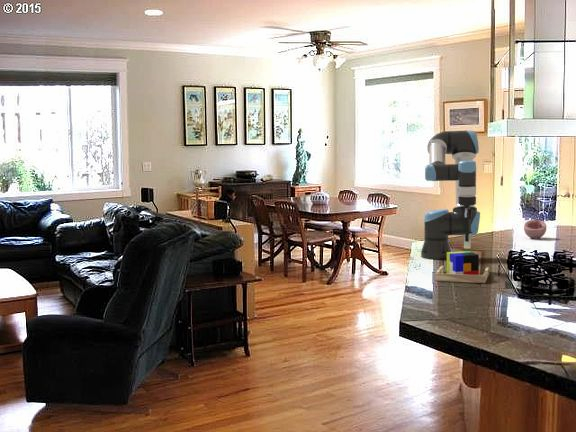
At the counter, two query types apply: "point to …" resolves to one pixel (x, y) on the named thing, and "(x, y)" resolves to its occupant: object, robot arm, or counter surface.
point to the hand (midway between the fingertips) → (467, 248)
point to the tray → (461, 276)
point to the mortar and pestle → (535, 228)
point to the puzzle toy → (462, 263)
